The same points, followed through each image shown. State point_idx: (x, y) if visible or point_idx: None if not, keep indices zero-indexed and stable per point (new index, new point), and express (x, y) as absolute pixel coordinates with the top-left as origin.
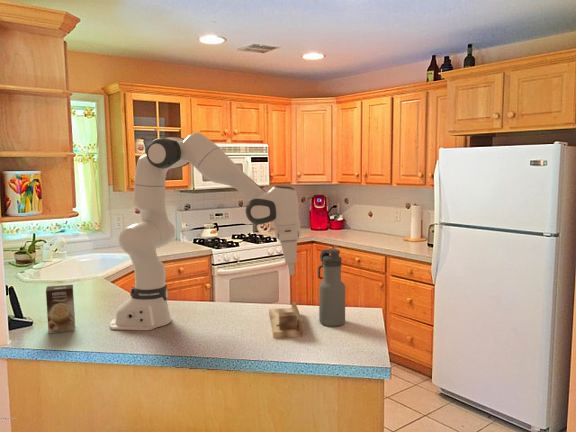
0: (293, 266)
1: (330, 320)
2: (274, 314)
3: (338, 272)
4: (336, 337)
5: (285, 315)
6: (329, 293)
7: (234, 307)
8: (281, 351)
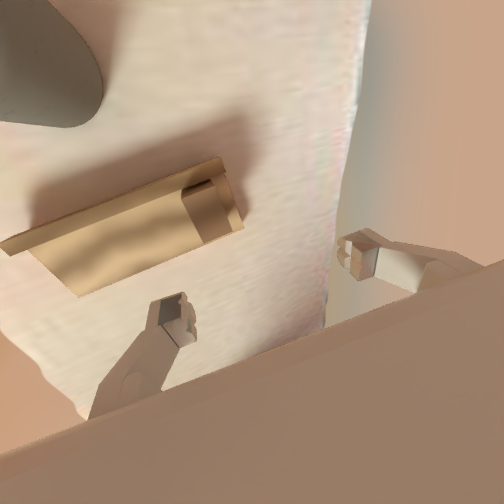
0: (431, 253)
1: (94, 67)
2: (117, 269)
3: None
4: (194, 41)
5: (222, 218)
6: (25, 19)
7: (83, 366)
8: (305, 185)
